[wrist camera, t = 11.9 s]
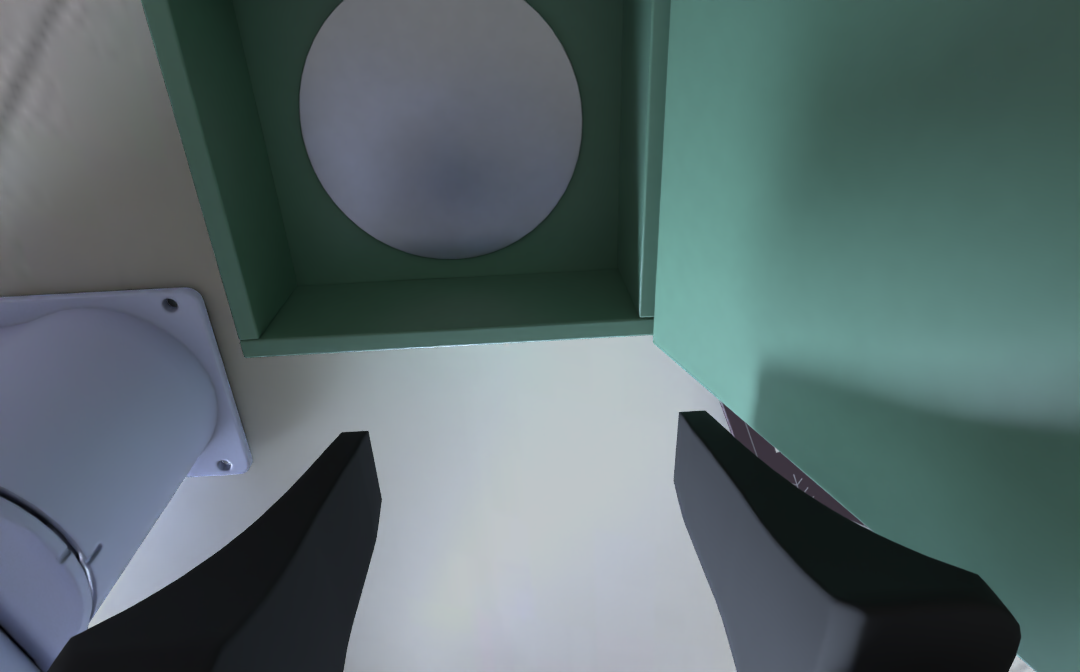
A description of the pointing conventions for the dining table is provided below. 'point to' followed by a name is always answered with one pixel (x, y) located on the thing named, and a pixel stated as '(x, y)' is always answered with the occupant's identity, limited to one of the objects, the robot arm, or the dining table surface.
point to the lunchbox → (374, 267)
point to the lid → (892, 268)
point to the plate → (441, 121)
